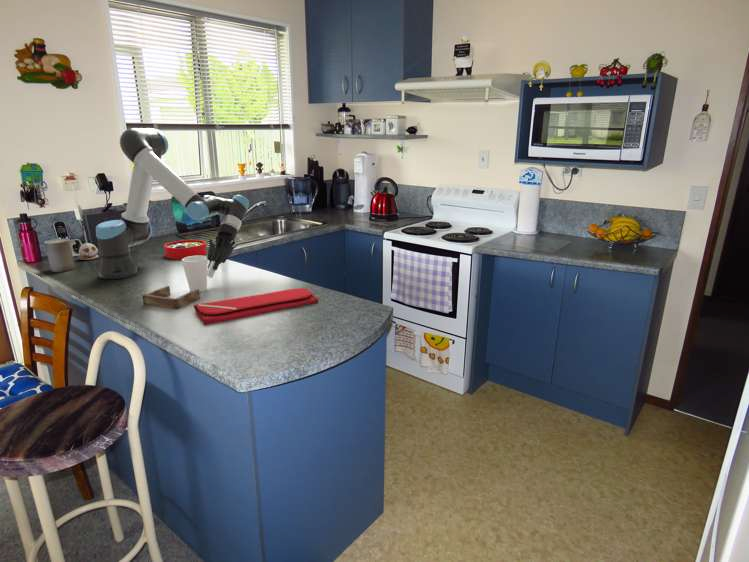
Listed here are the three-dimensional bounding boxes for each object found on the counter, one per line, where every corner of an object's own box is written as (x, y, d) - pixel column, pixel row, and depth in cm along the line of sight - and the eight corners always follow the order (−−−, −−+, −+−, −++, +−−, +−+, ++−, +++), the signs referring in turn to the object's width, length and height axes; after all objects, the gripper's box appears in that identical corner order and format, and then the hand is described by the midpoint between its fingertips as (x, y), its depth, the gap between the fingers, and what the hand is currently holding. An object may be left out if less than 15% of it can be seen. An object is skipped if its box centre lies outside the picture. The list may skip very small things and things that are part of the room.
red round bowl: (201, 238, 260) (209, 245, 243) (202, 248, 262) (210, 256, 245) (161, 242, 250) (167, 250, 234) (163, 253, 252) (168, 261, 235)
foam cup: (215, 287, 194) (212, 256, 190) (200, 294, 185) (196, 262, 181) (196, 285, 197) (193, 254, 193) (180, 292, 189) (176, 260, 185)
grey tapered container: (77, 265, 228) (71, 234, 224) (72, 271, 219) (65, 238, 215) (54, 267, 225) (47, 236, 221) (47, 273, 217) (40, 240, 212)
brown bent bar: (168, 294, 186) (166, 285, 185) (200, 298, 181) (199, 289, 180) (143, 304, 175) (142, 295, 174) (177, 309, 170) (175, 299, 169)
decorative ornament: (84, 261, 236) (78, 231, 232) (78, 259, 241) (72, 229, 236) (101, 258, 242) (95, 229, 237) (95, 256, 247) (89, 227, 242)
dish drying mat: (319, 303, 176) (318, 294, 175) (204, 327, 156) (203, 316, 155) (301, 292, 189) (301, 283, 188) (194, 312, 168) (192, 302, 167)
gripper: (246, 233, 206) (227, 282, 196) (221, 231, 210) (200, 279, 200) (238, 223, 199) (217, 273, 189) (212, 222, 204) (190, 270, 194)
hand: (208, 276), depth 195 cm, fingers closed
